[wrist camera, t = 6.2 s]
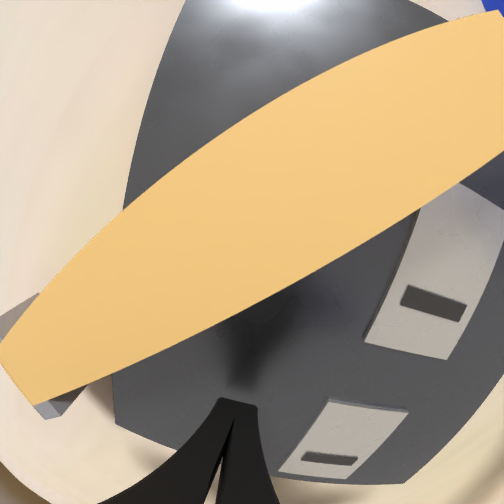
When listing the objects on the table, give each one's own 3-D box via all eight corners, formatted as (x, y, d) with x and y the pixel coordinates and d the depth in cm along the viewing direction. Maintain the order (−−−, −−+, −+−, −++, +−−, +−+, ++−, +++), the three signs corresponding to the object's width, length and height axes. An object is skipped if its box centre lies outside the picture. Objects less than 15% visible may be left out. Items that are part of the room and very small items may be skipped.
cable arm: (434, 23, 5) (477, -16, 2) (502, 142, 6) (564, 141, 3) (24, 309, 10) (-17, 337, 7) (77, 382, 11) (44, 420, 8)
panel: (567, 135, 6) (639, 141, 1) (400, 472, 13) (413, 536, 7) (216, -33, 7) (171, -120, 2) (122, 412, 13) (79, 480, 8)
